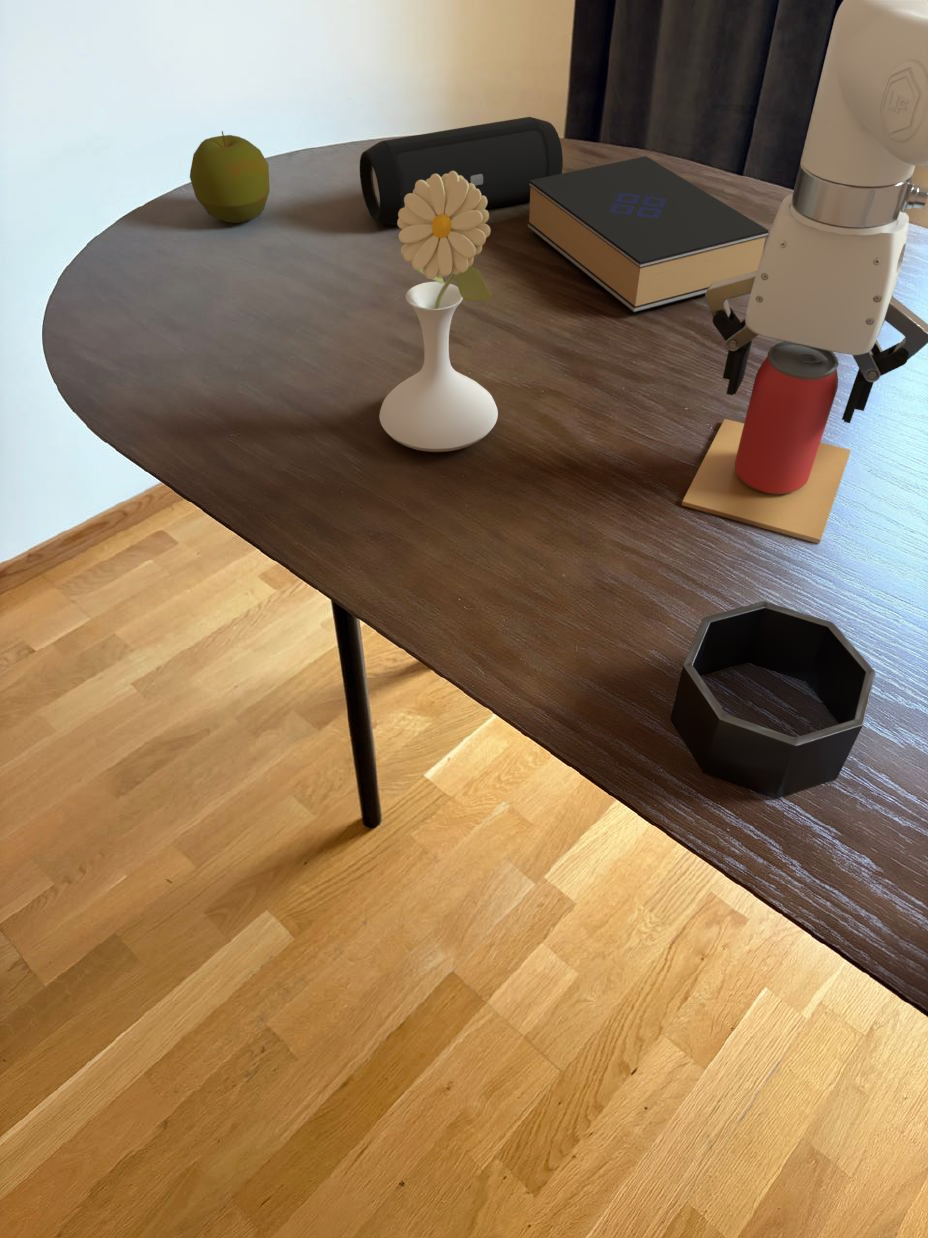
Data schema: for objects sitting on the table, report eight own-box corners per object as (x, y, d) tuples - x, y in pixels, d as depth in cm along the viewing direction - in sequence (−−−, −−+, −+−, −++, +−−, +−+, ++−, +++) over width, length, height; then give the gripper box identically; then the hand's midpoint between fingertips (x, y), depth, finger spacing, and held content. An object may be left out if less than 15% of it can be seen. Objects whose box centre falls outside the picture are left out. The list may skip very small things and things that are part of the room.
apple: (188, 230, 123) (168, 141, 115) (217, 200, 129) (200, 114, 121) (260, 237, 121) (245, 147, 113) (286, 206, 127) (273, 119, 120)
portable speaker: (385, 241, 120) (379, 159, 112) (360, 211, 126) (353, 132, 119) (563, 206, 126) (568, 127, 119) (531, 180, 133) (534, 103, 126)
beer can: (815, 498, 82) (855, 378, 74) (740, 498, 82) (771, 378, 74) (798, 453, 87) (833, 335, 78) (726, 453, 87) (754, 336, 78)
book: (639, 207, 126) (646, 155, 121) (757, 285, 110) (769, 230, 106) (526, 232, 121) (528, 179, 116) (633, 319, 105) (640, 262, 101)
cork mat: (849, 454, 88) (851, 449, 87) (819, 544, 79) (820, 539, 79) (723, 422, 91) (724, 418, 91) (681, 505, 83) (682, 501, 82)
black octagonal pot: (858, 693, 68) (884, 637, 63) (826, 819, 61) (853, 765, 56) (701, 642, 71) (716, 586, 67) (654, 755, 64) (667, 700, 60)
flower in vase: (358, 422, 92) (329, 155, 74) (450, 382, 97) (445, 123, 79) (436, 487, 85) (425, 210, 67) (532, 441, 89) (546, 170, 71)
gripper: (983, 194, 66) (903, 402, 79) (741, 156, 72) (702, 356, 84) (972, 236, 62) (890, 450, 74) (715, 192, 67) (678, 398, 79)
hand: (790, 400), depth 79 cm, fingers open, 9 cm apart
